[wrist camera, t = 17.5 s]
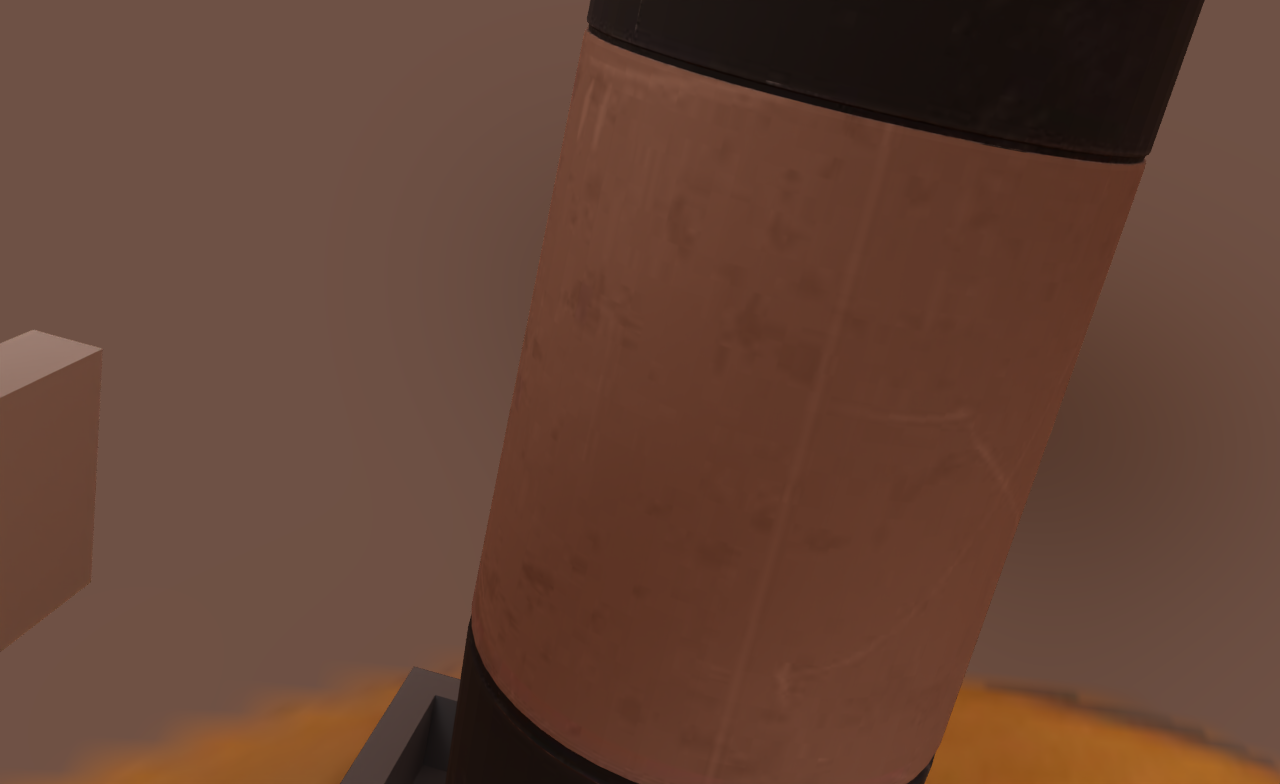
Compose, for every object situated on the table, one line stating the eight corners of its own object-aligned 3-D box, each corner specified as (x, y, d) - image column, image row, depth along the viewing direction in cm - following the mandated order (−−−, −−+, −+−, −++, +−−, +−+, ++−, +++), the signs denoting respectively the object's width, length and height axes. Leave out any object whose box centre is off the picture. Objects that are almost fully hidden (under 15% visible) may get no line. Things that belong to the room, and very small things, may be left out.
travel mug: (534, 824, 27) (746, -119, 20) (852, 997, 24) (1231, -22, 17) (302, 1074, 20) (496, -218, 13) (706, 1354, 17) (1231, -84, 10)
